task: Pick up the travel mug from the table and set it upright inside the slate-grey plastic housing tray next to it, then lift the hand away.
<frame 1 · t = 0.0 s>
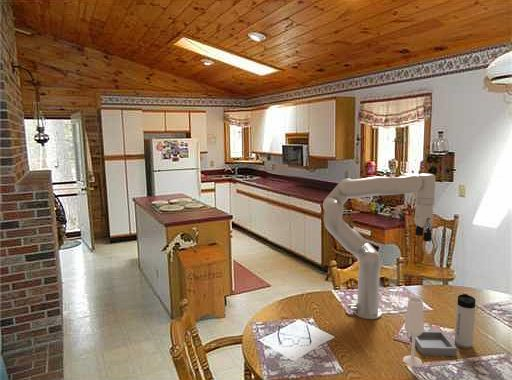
hand: (423, 238, 176), 37 cm above the table, tool pointing down, fingers open, 9 cm apart
housing tray: (432, 346, 153), on the table
champagne flute: (412, 361, 143), on the table
travel mug: (463, 344, 155), on the table
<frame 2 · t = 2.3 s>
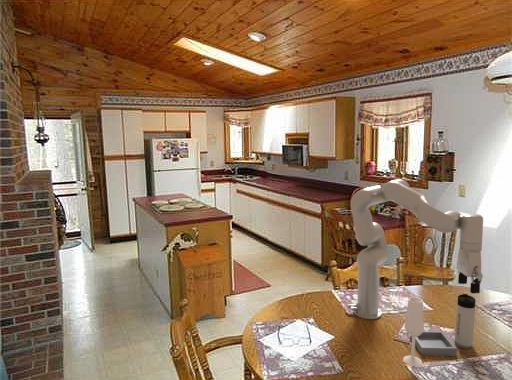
hand: (468, 288, 151), 24 cm above the table, tool pointing down, fingers open, 9 cm apart
nothing on the table moved.
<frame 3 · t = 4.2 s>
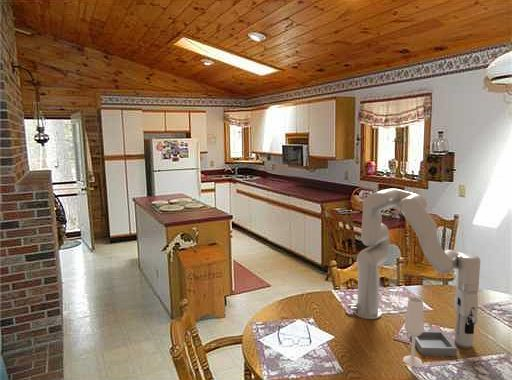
hand: (464, 328, 153), 7 cm above the table, tool pointing down, fingers closed on travel mug, 6 cm apart
travel mug: (463, 344, 155), on the table, touching gripper
everything else where it was.
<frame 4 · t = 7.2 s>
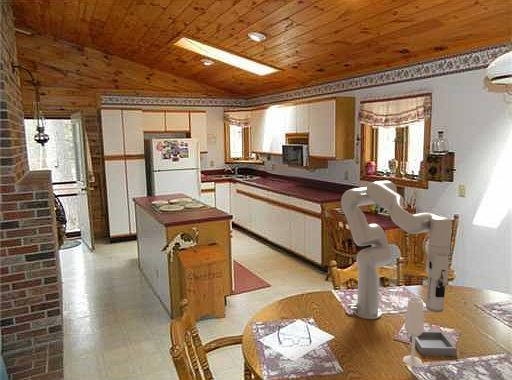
hand: (435, 292, 150), 22 cm above the table, tool pointing down, fingers closed on travel mug, 6 cm apart
travel mug: (434, 309, 152), point 15 cm above the table, touching gripper
everything else where it was.
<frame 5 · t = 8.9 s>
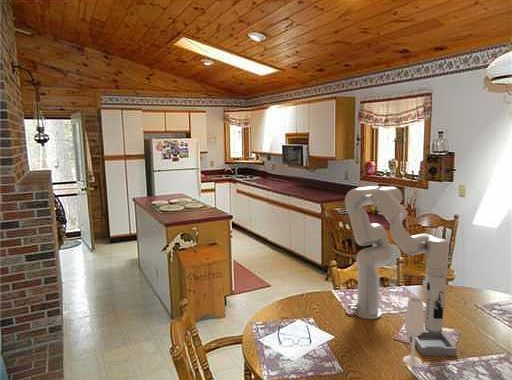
hand: (434, 313, 151), 14 cm above the table, tool pointing down, fingers closed on travel mug, 6 cm apart
travel mug: (433, 330, 152), point 7 cm above the table, touching gripper
everything else where it was.
when the fingers open (9 cm above the table, at t = 10.3 s): travel mug drops 1 cm, resting on housing tray.
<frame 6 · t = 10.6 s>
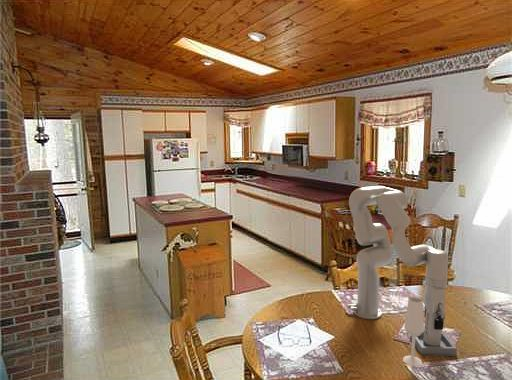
hand: (433, 323, 152), 10 cm above the table, tool pointing down, fingers open, 9 cm apart
travel mug: (431, 344, 153), point 1 cm above the table, touching housing tray
everything else where it was.
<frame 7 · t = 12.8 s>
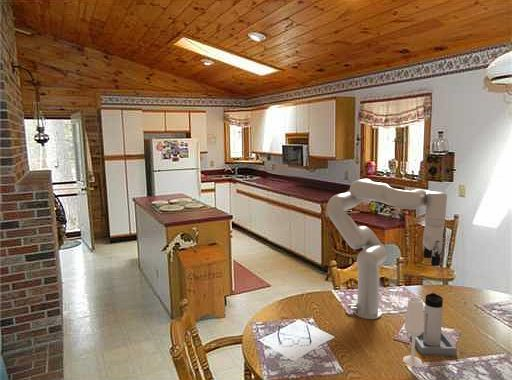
hand: (431, 261, 161), 31 cm above the table, tool pointing down, fingers open, 9 cm apart
nothing on the table moved.
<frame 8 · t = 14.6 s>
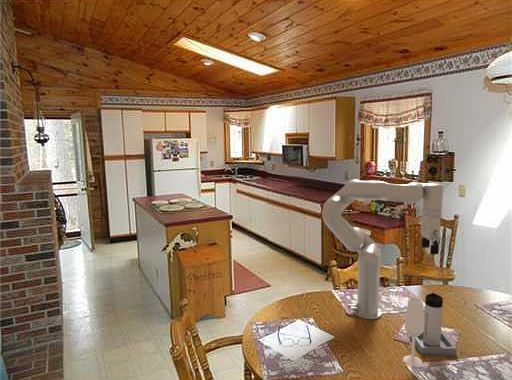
hand: (429, 250, 168), 33 cm above the table, tool pointing down, fingers open, 9 cm apart
nothing on the table moved.
at the end: travel mug 0.4 cm off-centre on the housing tray, point 0.6 cm above the housing tray's base; travel mug tilted 0°; the gripper is holding nothing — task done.
